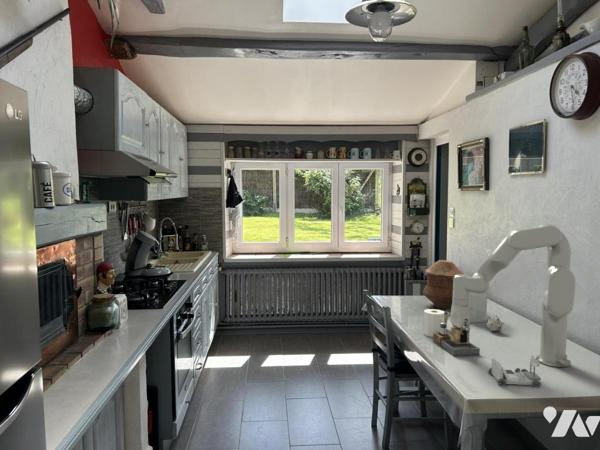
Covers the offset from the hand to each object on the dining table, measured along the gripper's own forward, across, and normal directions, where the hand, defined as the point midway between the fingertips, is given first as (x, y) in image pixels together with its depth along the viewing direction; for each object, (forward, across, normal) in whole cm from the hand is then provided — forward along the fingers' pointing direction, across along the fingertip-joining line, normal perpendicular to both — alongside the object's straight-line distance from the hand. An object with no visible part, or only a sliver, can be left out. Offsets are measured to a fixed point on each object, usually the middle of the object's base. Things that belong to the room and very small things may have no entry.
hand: (459, 339), depth 203 cm
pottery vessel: (+6, -77, +31) cm, 84 cm away
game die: (+5, -24, +33) cm, 41 cm away
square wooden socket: (+5, -10, -3) cm, 12 cm away
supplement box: (+5, -48, +34) cm, 59 cm away
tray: (+5, 0, 0) cm, 5 cm away
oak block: (+1, 0, 0) cm, 1 cm away
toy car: (+6, +34, +6) cm, 35 cm away
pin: (+5, -10, -3) cm, 12 cm away
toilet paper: (+6, -24, -1) cm, 25 cm away
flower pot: (+6, -33, +7) cm, 35 cm away
